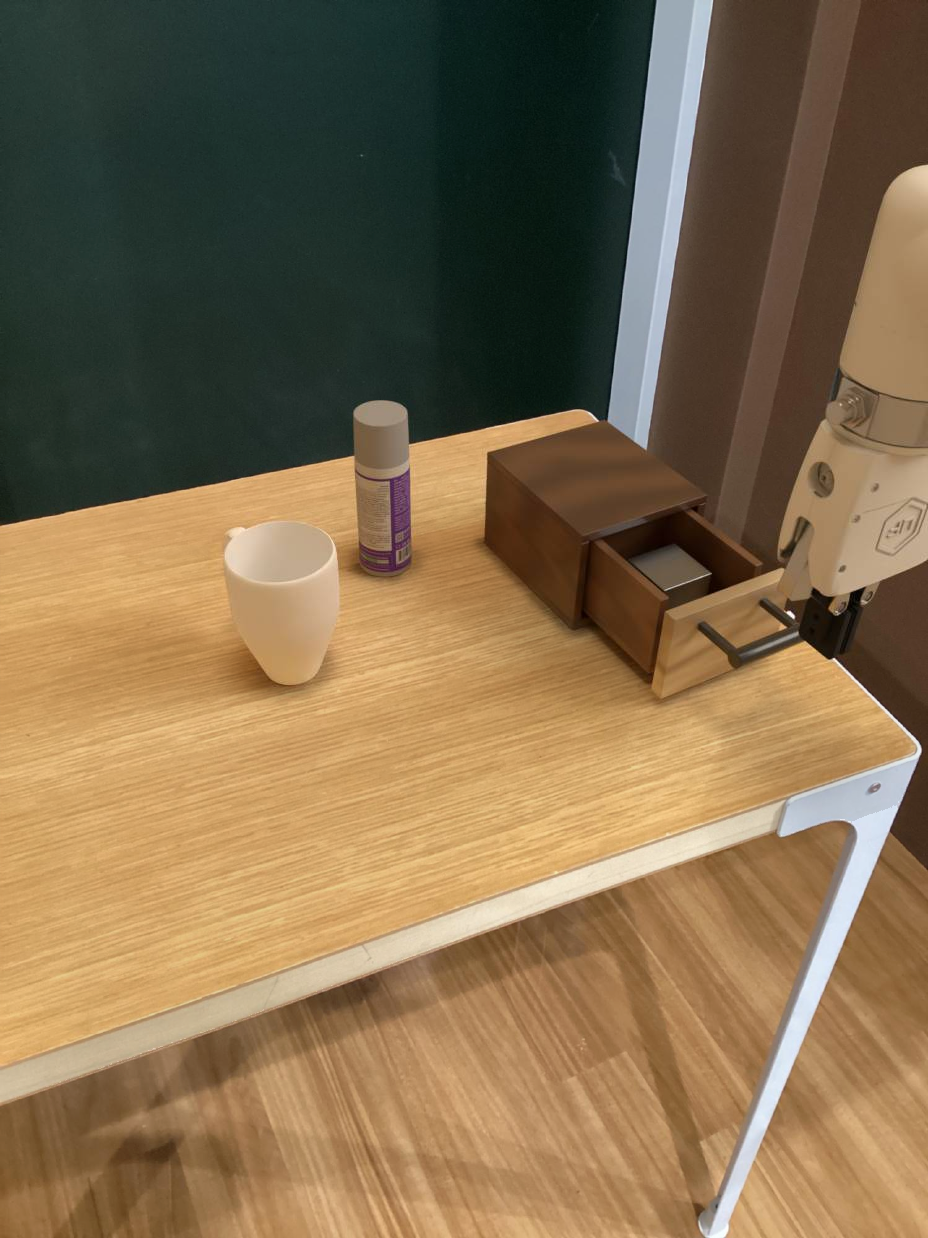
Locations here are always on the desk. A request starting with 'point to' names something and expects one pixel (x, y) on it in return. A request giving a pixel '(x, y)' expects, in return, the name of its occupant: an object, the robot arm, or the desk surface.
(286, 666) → the mug
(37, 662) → the desk surface
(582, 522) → the cabinet
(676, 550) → the block
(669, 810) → the desk surface
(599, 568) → the drawer
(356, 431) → the container
